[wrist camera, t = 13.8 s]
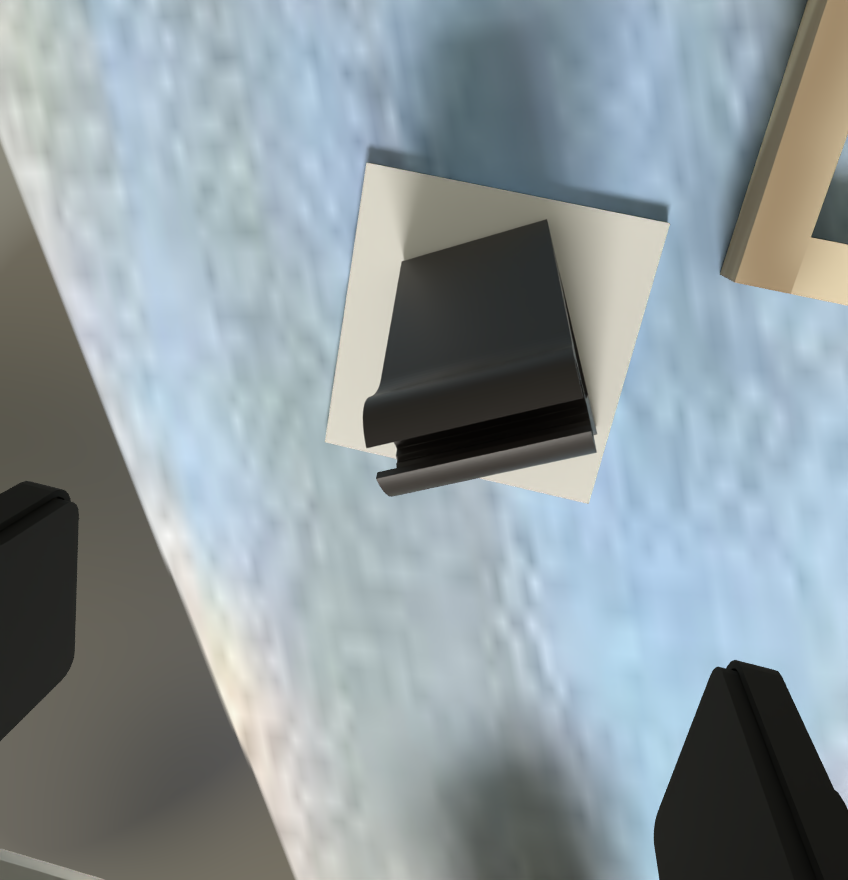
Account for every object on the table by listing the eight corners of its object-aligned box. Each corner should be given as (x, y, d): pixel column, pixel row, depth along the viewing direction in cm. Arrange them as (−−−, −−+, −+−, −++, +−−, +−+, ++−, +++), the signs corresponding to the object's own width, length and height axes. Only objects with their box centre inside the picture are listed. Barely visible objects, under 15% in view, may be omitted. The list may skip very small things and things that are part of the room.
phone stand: (403, 259, 31) (319, 303, 19) (548, 217, 29) (548, 240, 18) (460, 461, 33) (415, 604, 22) (596, 432, 32) (623, 569, 20)
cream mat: (667, 222, 29) (670, 223, 29) (588, 498, 33) (588, 503, 33) (370, 163, 30) (366, 162, 30) (328, 437, 34) (324, 441, 34)
